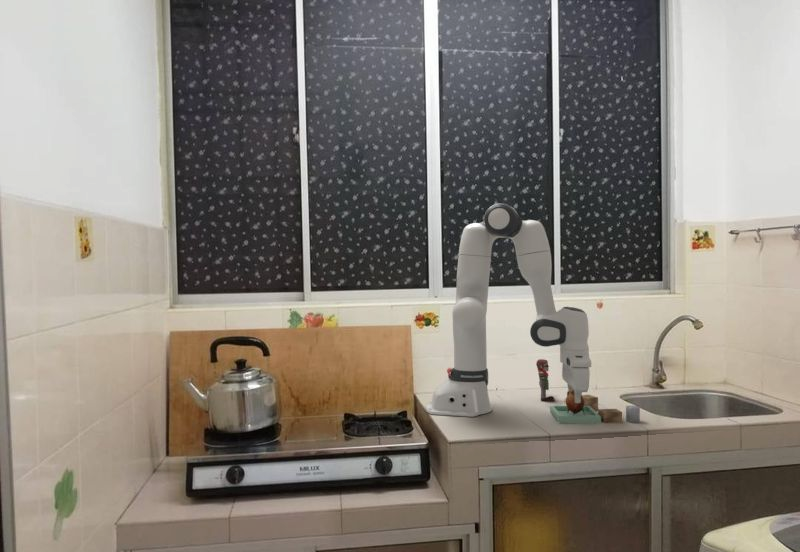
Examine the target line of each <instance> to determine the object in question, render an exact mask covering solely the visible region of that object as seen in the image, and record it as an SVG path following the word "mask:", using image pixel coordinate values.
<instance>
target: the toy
mask: <svg viewBox="0 0 800 552" xmlns="http://www.w3.org/2000/svg"><path fill="white" fill-rule="evenodd" d="M549 367H550V366H549V362H548V360H547V359H545V358H544V359H543V358H542V359H540V358H539V359H537V360H536V368H537V371H538V377H539V381H538V383H539V387H540V401H541V402H545V403H556V399H555V397H554V396H553V395H549V396H547V391H549V387H550V386H549V384H550V383H549Z"/></svg>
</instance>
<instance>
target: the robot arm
mask: <svg viewBox="0 0 800 552" xmlns="http://www.w3.org/2000/svg"><path fill="white" fill-rule="evenodd" d="M507 238H509V239H510V240H511V241H512V242H513V245H514V249H515V256H516V260H517V261H516V263H517V266H518V269H519V272H520V274H521V277H522V278H523V279H524V280H525V281H526V282H527V283H528V285H529V286H530V288H531V291H532V295H533V301H534V305H535V311H536V320H535V321H534V322H533V323H532V325H531V327H530V330H529V331H530V332H529V333H530V334H529V335H530V337H531V340H532V341H533V342H534V343H535V344H536V345H537V346H540V347H545V348H547V347H552V346H558V345H559V349H560V350H559V358H560V359H559V361H560V363H561V364H562V368H561V369H562V371H561V377H562V380H563V381H564V382H565V383H566V384H567V392H568V391H574V392H575V396H574V402H575V403H580V402H581V395H583V393H587V392H588V391H589V388H590V376H591V375H590V373H591V371H590V368H592V360H591V358H590V354H589V351H590V350H589V344H588V339H589V334H590V332H589V328H590V327H589V320H588V319H589V318H588V315H587V313H586V312H585V311H584V310H583V309H582V308H578V307H572V306H564V307H562V308H561V309H559V310H556V307H555V302H554V301H555V299H554V296H553V289H552V271H553V270H552V267H553V266H552V253H551V247H550V243H549V242H550V241H549V239H548V235H547V232H546V230H545V227H544V225H543V224H542V222H541V221H537V220H534V219H528V220H523V219H522V217H520V215H519V214H518V212H517V210H516V209H515V208H514V207H512V206H511V205H509V204H507V203H495V204H493V205H490V206H489V208H487V210H486V211H485V213H484V216H483V221H482V222H474V223H469V224H467V225H466V226H465V227H463V230H462V233H461V237H460V243H459V247H458V248H459V249H458V256H457V257H458V259H457V271H456V292H455V304H454V306H453V307H452V314H451V316H452V334H453V360H454V361H453V364H454V365H453V366H454V367H447V369H446V372H447V376H448V379H446V380H445V381H444V382H443V383H442V384H440V385H439V386H438V387H436V388H435V389H434V391H433V394H432V397H431V398H432V399H431V401H430V402H428V403H427V404H425V411H426V412H427V413H428V414H430V415H436V416H437V415H440V416H442V415H443V416H454V417H471V418H473V417H477V416H479V415H484V414H488V413H490V412H492V410H493V409H492V406H491V401H490V396H489V389H488V386H489V369H488V368H487V367H488V366H487V364H488V363H487V311H488V299H489V298H488V297H489V285H490V271H491V263H492V262H491V261H492V250H493V245H494V242H495V241H497V240H503V239H507ZM569 395H570V393H569Z"/></svg>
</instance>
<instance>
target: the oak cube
mask: <svg viewBox="0 0 800 552" xmlns="http://www.w3.org/2000/svg"><path fill="white" fill-rule="evenodd" d="M582 397H583V398H584V401H585V403H584V406H590V407H591V408H592V409H594V410H595V411H596V412H598V409H599V397H598V396H595V395H592V394H582Z"/></svg>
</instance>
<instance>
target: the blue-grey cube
mask: <svg viewBox="0 0 800 552" xmlns="http://www.w3.org/2000/svg"><path fill="white" fill-rule="evenodd" d="M625 421H626V422H627V423H629V424H639V423H641V408H640V406H636V405H626V406H625Z"/></svg>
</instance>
